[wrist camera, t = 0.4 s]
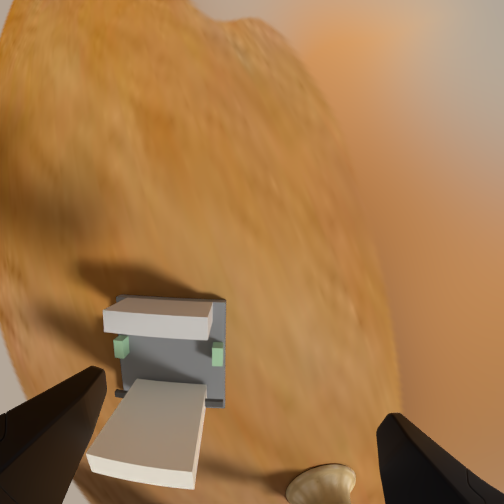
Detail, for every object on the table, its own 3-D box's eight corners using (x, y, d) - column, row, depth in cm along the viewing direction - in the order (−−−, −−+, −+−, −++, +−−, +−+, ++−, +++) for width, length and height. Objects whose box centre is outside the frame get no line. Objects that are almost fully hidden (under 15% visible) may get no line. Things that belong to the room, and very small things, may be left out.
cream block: (223, 400, 23) (220, 490, 12) (123, 391, 22) (71, 465, 11) (223, 385, 23) (219, 473, 12) (121, 376, 22) (65, 447, 11)
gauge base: (225, 401, 25) (223, 441, 18) (128, 393, 24) (106, 427, 18) (226, 299, 24) (224, 317, 18) (121, 294, 24) (89, 308, 18)
